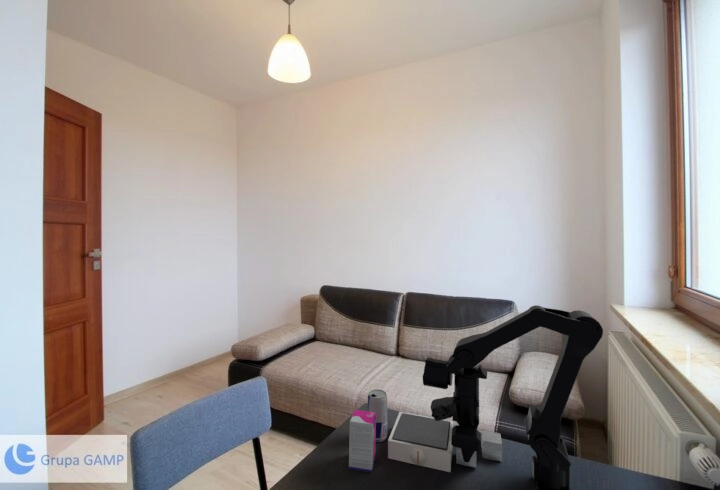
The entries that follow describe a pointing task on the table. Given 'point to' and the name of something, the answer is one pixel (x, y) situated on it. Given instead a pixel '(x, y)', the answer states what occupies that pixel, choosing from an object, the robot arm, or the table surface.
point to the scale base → (420, 451)
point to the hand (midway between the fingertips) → (466, 455)
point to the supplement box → (362, 440)
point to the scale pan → (422, 431)
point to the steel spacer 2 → (491, 446)
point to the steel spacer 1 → (460, 460)
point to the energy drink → (379, 412)
